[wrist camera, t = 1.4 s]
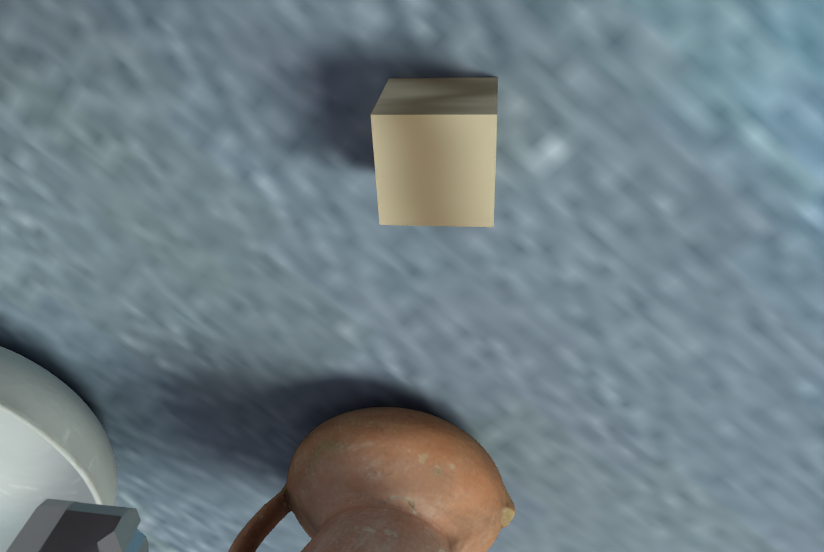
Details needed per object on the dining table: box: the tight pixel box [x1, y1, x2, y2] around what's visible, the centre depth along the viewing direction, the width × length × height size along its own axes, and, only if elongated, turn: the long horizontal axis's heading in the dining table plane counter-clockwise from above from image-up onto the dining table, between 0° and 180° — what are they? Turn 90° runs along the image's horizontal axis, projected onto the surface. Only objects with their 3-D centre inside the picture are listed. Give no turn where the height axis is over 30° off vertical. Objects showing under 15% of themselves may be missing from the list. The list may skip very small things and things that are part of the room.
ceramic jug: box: [229, 407, 515, 552], centre depth 38 cm, size 18×14×14 cm
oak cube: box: [371, 77, 498, 227], centre depth 28 cm, size 5×5×5 cm
